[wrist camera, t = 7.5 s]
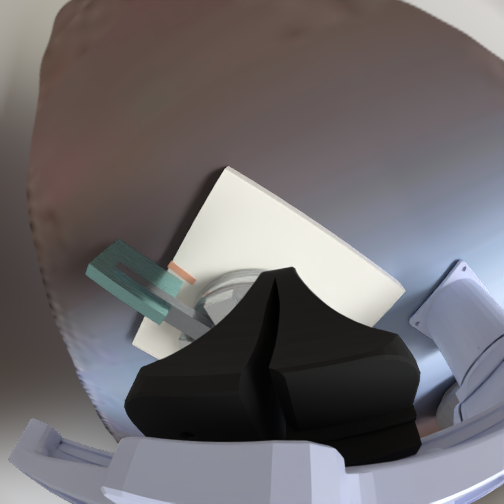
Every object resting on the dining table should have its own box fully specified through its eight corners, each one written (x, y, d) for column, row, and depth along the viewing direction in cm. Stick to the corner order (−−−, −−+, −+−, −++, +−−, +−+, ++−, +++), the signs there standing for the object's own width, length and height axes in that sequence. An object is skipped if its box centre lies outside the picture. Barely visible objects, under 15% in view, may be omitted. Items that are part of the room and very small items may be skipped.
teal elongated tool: (351, 316, 21) (365, 356, 17) (269, 387, 26) (268, 425, 21) (148, 180, 18) (115, 197, 14) (99, 288, 22) (72, 319, 18)
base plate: (399, 281, 22) (406, 291, 20) (275, 400, 29) (275, 411, 28) (226, 164, 19) (222, 167, 18) (136, 334, 26) (130, 344, 25)
